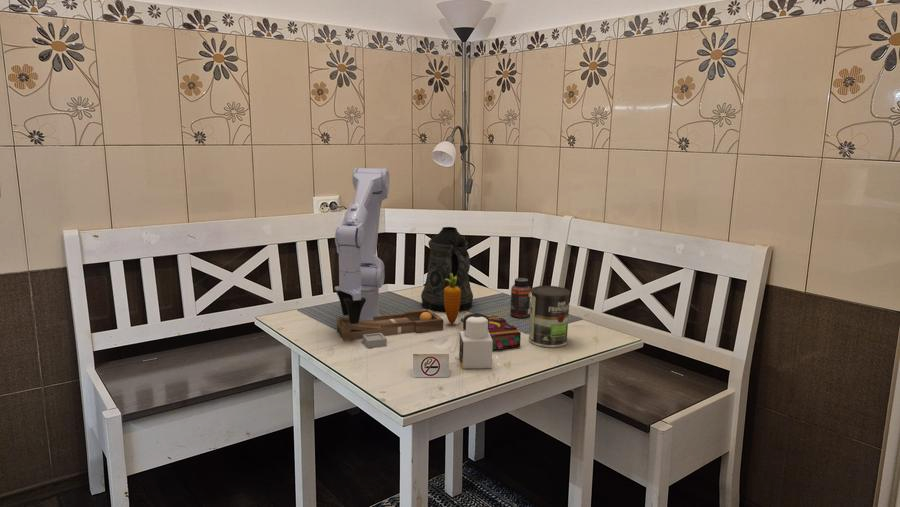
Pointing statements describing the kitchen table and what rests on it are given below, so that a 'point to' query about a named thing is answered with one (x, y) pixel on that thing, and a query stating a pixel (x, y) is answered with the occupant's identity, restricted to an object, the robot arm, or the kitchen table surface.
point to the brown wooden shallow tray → (389, 325)
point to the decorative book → (502, 333)
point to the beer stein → (447, 270)
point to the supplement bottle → (520, 298)
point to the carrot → (452, 299)
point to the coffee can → (549, 316)
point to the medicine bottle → (475, 342)
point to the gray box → (374, 340)
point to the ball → (425, 316)
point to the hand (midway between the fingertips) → (350, 319)
